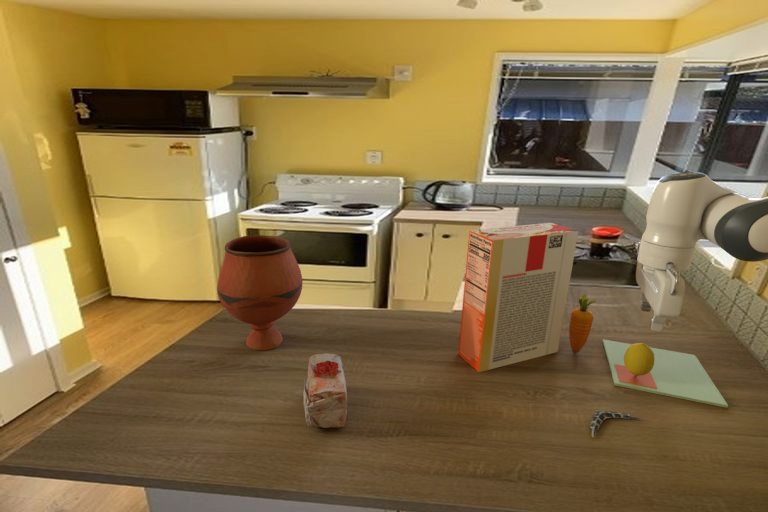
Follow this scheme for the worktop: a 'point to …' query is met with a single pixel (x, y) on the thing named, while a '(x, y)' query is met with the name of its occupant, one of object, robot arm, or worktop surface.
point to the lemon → (639, 359)
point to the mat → (665, 375)
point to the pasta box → (515, 293)
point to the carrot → (580, 324)
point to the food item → (325, 392)
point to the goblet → (259, 285)
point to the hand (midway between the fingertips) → (649, 319)
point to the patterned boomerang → (602, 415)
